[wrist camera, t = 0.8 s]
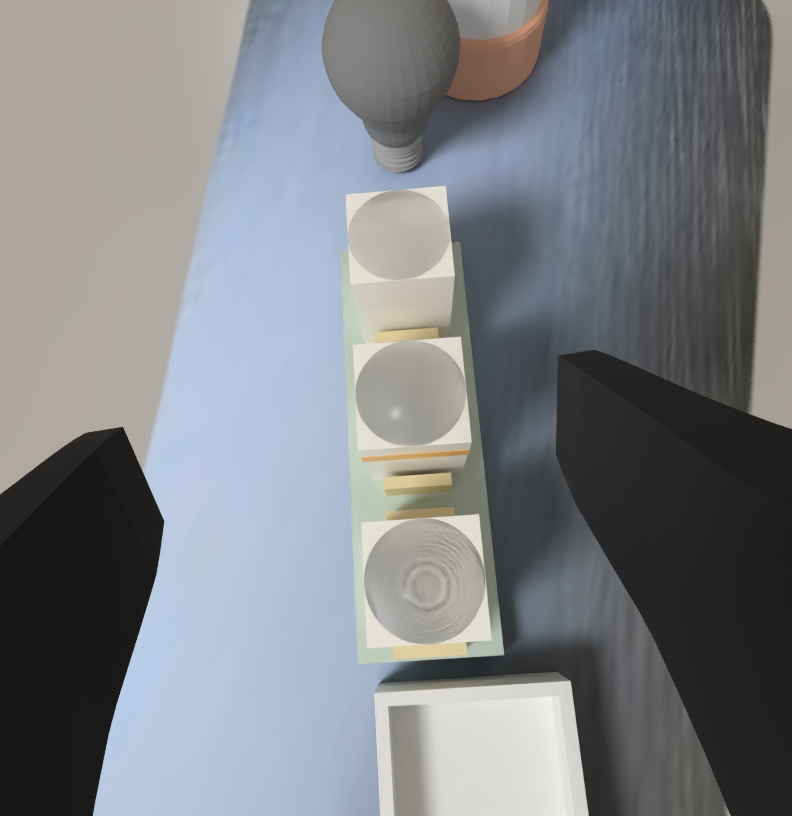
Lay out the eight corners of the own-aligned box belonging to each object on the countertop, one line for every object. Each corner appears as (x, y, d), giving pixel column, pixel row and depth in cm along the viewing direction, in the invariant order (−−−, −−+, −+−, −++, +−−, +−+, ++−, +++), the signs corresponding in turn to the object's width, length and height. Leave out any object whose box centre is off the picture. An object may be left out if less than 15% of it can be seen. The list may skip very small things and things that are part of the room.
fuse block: (500, 652, 26) (510, 660, 23) (360, 660, 26) (352, 670, 23) (458, 254, 31) (462, 218, 28) (343, 263, 32) (334, 228, 29)
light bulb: (427, 99, 34) (428, -90, 25) (470, 182, 33) (489, 13, 23) (328, 135, 34) (290, -43, 24) (366, 221, 32) (341, 66, 23)
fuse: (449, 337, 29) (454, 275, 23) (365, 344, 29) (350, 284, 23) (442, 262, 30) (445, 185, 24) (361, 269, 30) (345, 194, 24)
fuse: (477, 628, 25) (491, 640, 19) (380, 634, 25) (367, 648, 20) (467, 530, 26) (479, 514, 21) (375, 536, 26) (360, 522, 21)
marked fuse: (462, 473, 27) (472, 442, 21) (371, 480, 27) (357, 450, 21) (454, 387, 28) (461, 336, 22) (367, 393, 28) (352, 344, 22)
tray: (583, 881, 23) (602, 916, 21) (390, 891, 24) (385, 927, 21) (556, 671, 26) (570, 680, 23) (379, 682, 26) (374, 693, 23)
